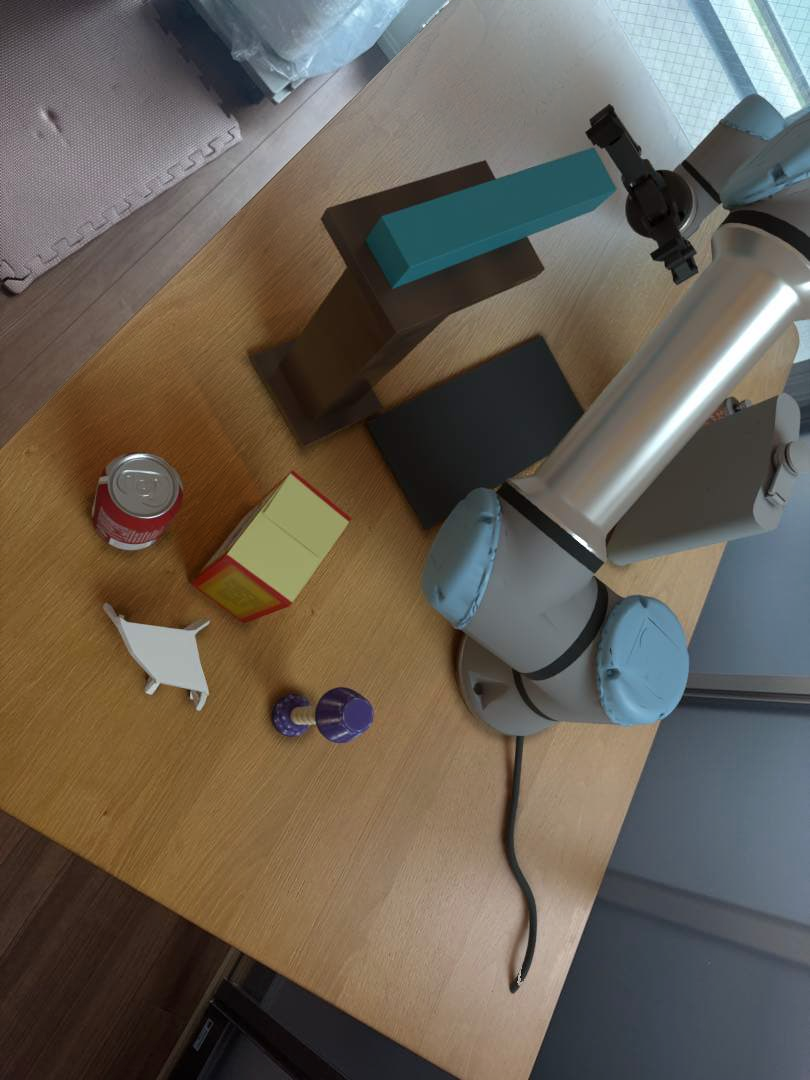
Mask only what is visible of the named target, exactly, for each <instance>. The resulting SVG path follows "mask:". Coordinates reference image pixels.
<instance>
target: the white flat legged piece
mask: <svg viewBox="0 0 810 1080" xmlns="http://www.w3.org/2000/svg"><path fill="white" fill-rule="evenodd" d="M102 609H103V610H104V612H105V613H106V615H107V616H108V617H109V618H110V620H111V621H112V622H113V623H114V625H115V627H116V629H117V630H118V632H119V634H120V636H121V638H122V640H123V643H124V644H125V647H126V650H127V651H128V653H129V655H131V657H132V659H134V660H135V661H136V662H137V664H138V665H139V666H140V667H141V668H142V669H143V671H145V673H146V674H147V675H148V676H149V677H148V679H147V680H146V684H145V687H144V693H145V694H148V695H150V696H152V695H153V694H154V693H155V691H156V690H157V688H158V687H159V685H160V684H163V685H166V686H167V685H168V686H172V687H177V688H181V689H185V690H190V692H189V693H190V694H189V695H190V696H189V699H190V700H193V704H194V707H195V708H194V709H195V710H197V711H198V712H201V710H202V709H203V707H204V706H205V704H206V701H207V698H208V696H210V692H209V687H208V684H207V680H206V675H205V673H204V670H203V667H202V663H201V660H200V659H201V658H200V654H199V649H198V644H197V640H196V635H197V633H199V631H200V630H202V629H204V628H205V627H206V626H208V625H209V624H210V622H211V619H207V618H198V619H196V620H195V621H194V622H192V623H190V624H189V625H187V626H185V627H184V628H182V629H180V628H172V627H167V626H159V625H158V626H157V625H150V624H143V623H137V622H130V621H126V619H125V615H123V614H121V613H120V614H119V615H117V613H116V612H115V610H114V608H113V606H112V605H111V604H109V603H107V602H104V604H103V606H102ZM197 692H200V696H199V695H198V693H197Z"/></svg>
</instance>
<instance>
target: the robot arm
mask: <svg viewBox="0 0 810 1080" xmlns="http://www.w3.org/2000/svg"><path fill="white" fill-rule="evenodd" d="M589 125H590V126H591V127H589V128H588V129H586V131H584V133H585V134H586V137H587V140H589V141H590V142H591V145H593V147H595V146H597V147H599V148H600V149H601V150H603V149H604V150H605V151H606V153H607V154H608V156H609V157H610V159H611V160H612V162H613V164H614V165H615V167H616V168H617V169H618V171H619V172H620V174H621V176H620V180H621V183H622V185H623V187H624V189H625V190H626V192H627V193H628V194H627V196H626V198H625V205H624V212H625V218H626V221H627V224H628V225H629V227H630V228H631V230H632V231H633V232H634V233H636V234H638V235H639V236H641V237H643V238H646V239H650V240H653V241H654V242H655V243H656V244H657V247H658V248H656V249H655V250H653V251H651V252H650V253H649V255H650V257H651V259H652V261H654V262H659V263H660V262H661V263H664V264H663V265H664V268H665V269H666V270H667V271H670V273H671V277H672V282H673V284H675V286H676V285H677V286H680V285H681V284H682V283H684V282H686V281H687V280H688V279H690V278H693V277H694V276H695V275H697V274H699V267H698V265H697V263H696V260H695V257H694V256H695V255H697V254H698V252H697V250H696V249H695V246H694V245H693V244H692V243H691V241H690V240H689V238H691V237H692V236H693V235H694V234H695V233H697V231H698V230H699V229H700V227H701V224H702V223H703V221H704V220H705V219H706V218H707V217H709V215H710V214H711V213H713V212H714V211H715V210H716V209H717V208H718V207H719V206H720V205H721V207H722V209H723V210H725V211H728V212H729V213H728V214H727V215H726V218H724V220H723V221H721V223H720V225H718V227H717V228H716V229H715V231H714V232H713V233H712V235H711V238H710V250H711V262H710V263H709V265H708V266H707V267H706V268H705V269H704V271H702V273H701V274H700V275H699V276H698V278H697V279H696V280H695V281H694V283H693V284H692V285H691V286H690V287H689V288H688V290H687V291H686V292H685V293H684V294H683V295H682V297H681V298H680V299H679V300H678V301H677V302H676V304H675V305H674V306H673V307H672V308H671V310H670V311H669V312H668V313H667V314H666V316H665V317H664V318H663V319H662V320H661V321H660V323H659V324H658V325H657V327H656V328H654V330H653V331H652V332H651V333H650V334H649V335H648V337H647V338H646V339H645V340H644V342H642V344H641V345H640V346H639V348H637V350H636V351H635V352H634V354H632V356H631V357H630V358H629V359H628V361H626V363H625V364H624V365H623V367H622V368H621V369H620V370H619V371H618V373H616V375H615V376H614V377H613V378H612V380H611V381H610V382H609V383H608V384H607V385H606V386H605V388H604V389H603V390H602V391H601V392H600V394H599V395H598V396H597V397H596V398H595V399H594V401H593V402H592V403H591V404H590V406H589V407H588V408H587V409H586V410H585V411H584V414H583V415H582V416H581V417H580V419H579V420H578V421H577V422H576V423H575V425H574V426H573V427H572V428H571V429H570V431H569V432H568V433H567V434H566V435H565V436H564V438H563V439H562V440H561V441H560V442H559V444H558V445H557V446H556V447H555V448H554V449H553V451H552V452H551V453H550V454H549V455H548V456H546V457H545V458H544V460H543V461H542V462H541V463H540V464H539V466H538V467H537V468H536V469H535V470H534V471H533V473H531V474H529V475H525V476H523V475H522V476H514V477H512V478H508V479H507V480H506V481H505V482H504V483H502V484H501V485H499V488H498V489H497V490H496V491H495V490H494V489H486V488H477V489H475V490H473V491H471V492H470V493H469V494H468V495H467V496H466V498H465V499H464V500H461V501H460V502H459V503H458V504H457V506H456V507H455V508H454V509H453V511H452V512H451V513H450V515H449V516H448V517H447V518H445V520H444V522H443V524H442V525H441V527H440V528H439V530H438V532H437V534H436V536H435V538H434V539H433V542H432V543H431V546H430V548H429V551H428V553H427V556H426V558H425V562H424V565H423V568H422V573H421V581H420V582H421V592H422V595H423V597H424V599H425V601H426V602H427V603H428V605H430V607H432V608H433V609H434V610H435V611H437V612H438V613H439V614H440V615H441V616H442V617H444V618H445V619H446V620H447V621H449V624H450V625H451V626H452V627H453V629H456V630H461V631H462V635H461V637H460V640H459V642H458V646H457V649H456V650H457V651H456V658H455V675H456V683H457V687H458V690H459V694H460V696H461V698H462V700H463V702H464V704H465V706H466V707H467V709H468V711H469V713H470V714H471V715H472V716H473V717H474V718H475V720H477V721H478V722H479V723H480V724H481V725H482V726H483V727H485V728H487V729H489V730H490V731H491V732H494V733H496V734H499V735H503V736H508V737H509V736H510V737H515V748H514V761H513V762H514V763H513V773H512V784H511V794H510V802H509V808H508V813H507V814H508V815H507V821H506V830H505V844H506V846H505V847H506V854H507V859H508V863H509V866H510V869H511V871H512V874H513V875H514V877H515V879H516V881H517V883H518V884H519V886H520V888H521V890H522V891H523V894H524V897H525V899H526V902H527V907H528V920H529V921H528V923H529V925H528V940H527V946H526V951H525V954H524V958H523V961H522V964H521V966H522V969H521V968H520V969H521V976H520V978H521V981H520V982H522V981H523V982H525V980H526V978H527V976H528V973H529V971H530V969H531V966H532V963H533V959H534V955H535V951H536V945H537V936H538V935H537V934H538V911H537V904H536V900H535V896H534V893H533V891H532V888H531V886H530V885H529V883H528V880H527V879H526V877H525V875H524V874H523V872H522V869H521V867H520V865H519V863H518V861H517V860H518V859H517V857H516V851H515V826H516V825H515V824H516V816H517V812H518V804H519V796H520V785H521V777H522V776H521V775H522V766H523V765H522V764H523V753H524V739H525V737H528V736H532V735H536V734H537V735H538V734H540V733H542V732H544V731H546V730H548V729H550V728H552V727H553V726H554V725H557V724H559V723H561V722H562V723H563V722H564V723H575V724H576V723H577V724H591V725H593V724H595V725H610V726H618V727H623V728H631V727H634V726H641V725H643V726H645V725H652V724H655V723H657V722H659V721H661V720H663V719H665V718H666V717H668V716H669V715H670V714H671V713H672V712H673V711H674V710H675V708H676V707H677V706H678V705H679V702H680V701H681V699H682V697H683V695H684V692H685V690H686V687H687V684H688V678H689V671H690V655H689V652H688V646H687V645H688V641H687V636H686V634H685V631H684V629H683V628H684V627H683V626H682V624H681V622H680V620H679V618H678V617H677V615H676V614H675V612H674V611H673V610H672V609H671V608H670V607H669V606H668V605H667V604H666V603H665V602H663V601H662V600H660V599H659V598H656V597H653V596H648V595H642V594H633V595H627V596H625V597H624V596H622V595H619V594H618V593H617V592H616V591H614V590H613V589H612V588H611V587H609V586H608V585H607V584H605V583H604V582H603V581H602V580H601V579H599V578H598V577H597V576H596V575H595V574H597V572H598V571H599V570H600V569H601V568H602V566H603V565H604V564H606V562H607V561H608V556H607V552H606V549H607V543H606V539H607V535H608V534H609V532H611V530H612V529H613V528H615V526H616V525H617V523H618V521H619V520H620V519H621V517H622V516H623V515H624V514H625V513H626V512H627V511H628V509H629V508H630V507H631V506H632V505H633V504H634V503H635V502H636V500H637V499H638V498H639V497H640V496H641V495H642V494H643V492H644V491H645V490H646V489H647V488H648V487H649V486H650V484H651V483H652V482H653V481H654V480H655V479H656V478H657V477H658V475H659V474H660V473H661V472H662V471H663V470H664V469H665V467H666V466H667V465H668V464H669V463H670V462H671V461H672V459H673V458H674V457H675V456H676V455H677V454H678V453H679V451H680V450H681V449H682V448H683V447H684V446H685V445H686V444H687V442H688V441H689V440H690V439H691V438H692V437H693V436H694V434H695V433H696V432H697V431H698V430H699V429H700V428H701V426H702V425H703V424H704V423H705V422H706V421H707V420H708V419H709V417H710V416H711V415H712V414H713V413H714V412H715V411H716V409H717V408H718V407H719V406H720V405H721V404H722V403H723V401H724V400H725V399H726V398H729V397H730V395H731V394H732V392H734V390H735V389H736V388H737V387H738V386H739V385H740V383H741V382H742V381H743V380H744V379H745V378H746V376H748V374H749V373H751V371H752V370H753V369H754V368H755V366H756V365H757V364H758V363H759V362H760V361H761V360H762V358H763V357H765V355H766V354H767V353H768V352H769V350H770V349H771V348H772V347H773V346H774V345H775V343H776V342H778V340H779V339H780V338H781V337H782V336H783V334H784V333H786V331H787V330H788V329H789V328H790V327H791V325H793V323H794V322H800V321H801V322H802V321H808V320H810V111H808V112H807V113H805V114H803V115H801V116H800V117H799V118H797V119H796V120H795V121H793V122H791V123H790V124H789V123H788V122H787V120H786V119H785V118H784V116H783V115H782V114H781V113H780V111H779V110H778V109H776V107H775V106H774V105H773V104H772V103H771V102H770V101H769V100H768V99H766V98H765V97H764V96H762V95H760V94H756V93H751V94H747V95H746V96H745V97H744V98H742V99H741V100H740V101H739V103H737V104H736V105H734V107H733V108H732V109H731V110H730V111H729V112H727V114H726V115H725V116H724V117H723V118H721V119H719V121H718V123H717V124H716V125H715V126H714V127H713V128H712V129H711V130H710V132H708V134H707V135H706V136H705V137H704V138H703V139H702V140H701V142H699V144H697V146H695V148H694V149H693V150H692V151H691V152H690V153H689V155H688V156H687V157H686V158H685V159H683V160H682V162H680V163H678V165H676V167H675V168H674V169H673V170H670V169H655V168H654V166H653V164H652V163H651V162H650V160H649V158H642V154H643V152H642V147H641V145H638V143H637V142H636V140H635V139H634V138H633V136H632V134H631V133H630V132H629V131H628V129H627V127H626V126H625V124H624V123H623V121H622V120H621V119H620V117H619V115H618V114H617V112H616V110H615V107H614V106H613V105H612V104H611V103H608V104H607V105H606V106H604V107H603V108H602V109H601V110H599V111H598V112H596V113H595V114H594V115H593V116H591V117H590V118H589ZM518 975H519V972H518V973H517V975H516V976H515V979H514V980H513V981H512V982H511V983H510V987H509V992H510V994H515V993H517V991H518V990H519V989H520V987H521V986H522V985H523V983H522V984H521V986H519V985H518V983H517V981H518ZM524 979H525V980H524Z"/></svg>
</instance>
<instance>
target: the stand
mask: <svg viewBox="0 0 810 1080" xmlns="http://www.w3.org/2000/svg"><path fill="white" fill-rule="evenodd" d="M494 179H497V178H496V176H495V174H494V173H493V170H492V169H491V167H490V165H489V164H488V162H487V160H486V159H483V160H480V161H477V162H473V163H470V164H466V165H464V166H461V167H457V168H454V169H451V170H448V171H445V172H444V171H443V172H441V173H437V174H434V175H431V176H428V177H423V178H421V179H417V180H414V181H411V182H408V183H405V184H401V185H398V186H394V187H391V188H388V189H385V190H382V191H381V190H380V191H378V192H375V193H372V194H371V193H370V194H368V195H365V196H363V197H359V198H355V199H352V200H349V201H345V202H342V203H338V204H336V205H331V206H329V207H326V208H325V210H324V211H323V214H322V215H321V217H320V222H321V223H322V225H323V227H324V229H325V230H326V232H327V234H328V235H329V238H330V240H331V241H332V243H333V245H334V246H335V248H336V251H338V254H339V255H340V257H341V259H342V261H343V263H344V264H345V266H346V268H345V269H344V270H343V272H342V273H341V275H340V276H339V278H338V279H337V281H336V282H335V283H334V285H333V286H332V288H331V289H330V291H329V292H328V294H327V295H326V296H325V297H324V299H323V300H322V303H321V304H320V305H319V306H318V308H317V309H316V311H315V312H314V313H313V315H312V316H311V317H310V319H309V321H308V322H307V323H306V325H305V326H304V328H303V329H302V331H301V332H300V334H299V335H298V337H296V338H294V339H291V340H289V341H286V342H283V343H282V344H279V345H276V346H273V347H271V348H269V349H266V350H263V351H261V352H258V353H256V354H253V355H252V356H251V358H250V360H249V361H250V363H251V365H252V366H253V369H254V370H255V371H256V373H257V375H258V376H259V379H260V380H261V382H262V383H263V385H264V387H265V389H266V391H267V392H268V394H269V396H270V398H271V400H272V402H273V403H274V405H275V407H276V408H277V410H278V411H279V413H280V415H281V417H282V418H283V420H284V422H285V424H286V426H287V428H288V429H289V431H290V433H291V434H292V436H293V438H294V439H295V442H296V443H297V445H298V446H299V448H300V449H301V450H303V449H306V448H307V447H309V446H312V445H314V444H316V443H318V442H319V441H321V440H324V439H326V438H328V437H330V436H332V435H334V434H337V433H339V432H340V431H342V430H344V429H347V428H348V427H350V426H352V425H355V424H356V423H358V422H361V421H363V420H364V419H367V418H370V417H371V416H373V415H375V414H377V413H379V412H380V411H381V410H383V409H384V407H383V405H382V403H381V401H380V400H379V398H378V396H377V394H376V392H375V390H374V389H373V388H374V387H375V386H377V384H378V383H379V382H380V381H381V380H382V379H384V378H385V377H386V376H387V375H388V374H389V373H390V372H391V371H392V370H393V369H394V368H395V367H396V366H397V365H398V364H400V362H402V361H403V360H404V359H405V358H406V357H407V356H408V355H409V354H410V353H411V352H412V351H413V350H414V349H415V348H416V347H418V346H419V344H420V343H422V341H424V340H425V339H426V338H427V337H428V336H429V335H430V334H431V333H432V332H433V331H435V329H436V328H437V327H439V326H440V325H441V324H442V323H443V322H444V321H445V320H446V319H447V318H448V317H449V316H451V315H454V314H455V313H457V312H460V311H462V310H464V309H467V308H469V307H471V306H474V305H476V304H478V303H481V302H483V301H485V300H488V299H490V298H492V297H496V296H497V295H499V294H502V293H504V292H506V291H509V290H511V289H513V288H516V287H518V286H520V285H522V284H525V283H528V282H530V281H532V280H534V279H536V278H537V277H539V276H540V275H541V274H542V273H543V272H544V271H545V270H546V268H545V267H544V265H543V262H542V260H541V259H540V257H539V255H538V254H537V251H536V250H535V248H534V246H533V244H532V242H531V241H530V238H529V236H527V237H524V238H522V239H519V240H517V241H514V242H512V243H509V244H507V245H504V246H501V247H499V248H496V249H494V250H491V251H489V252H486V253H483V254H481V255H478V256H476V257H473V258H471V259H468V260H465V261H463V262H460V263H458V264H455V265H453V266H450V267H447V268H445V269H442V270H440V271H437V272H435V273H432V274H429V275H427V276H424V277H422V278H419V279H417V280H414V281H411V282H409V283H406V284H404V285H401V286H399V287H396V288H393V289H392V288H391V286H390V284H389V283H388V281H387V279H386V277H385V275H384V274H383V272H382V270H381V268H380V266H379V265H378V263H377V261H376V259H375V257H374V256H373V254H372V252H371V250H370V248H369V247H368V245H367V243H366V241H365V239H366V238H367V236H368V235H369V233H370V232H371V230H372V229H373V228H374V226H375V225H376V223H377V222H378V220H379V219H380V217H381V216H383V215H386V214H389V213H392V212H396V211H399V210H402V209H405V208H408V207H411V206H414V205H417V204H420V203H423V202H426V201H429V200H433V199H436V198H439V197H442V196H445V195H448V194H451V193H454V192H457V191H460V190H463V189H466V188H470V187H473V186H476V185H479V184H482V183H485V182H488V181H491V180H494Z"/></svg>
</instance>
